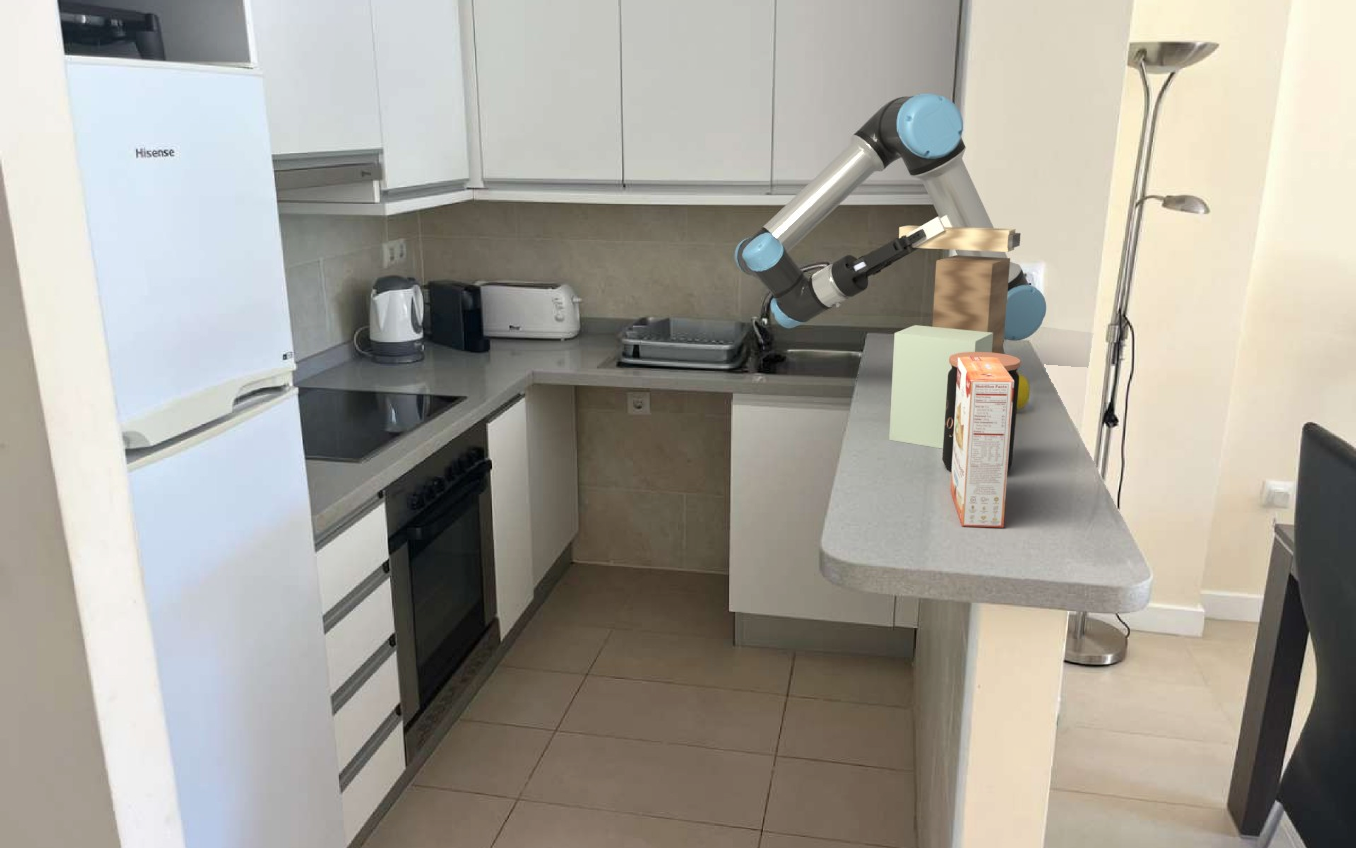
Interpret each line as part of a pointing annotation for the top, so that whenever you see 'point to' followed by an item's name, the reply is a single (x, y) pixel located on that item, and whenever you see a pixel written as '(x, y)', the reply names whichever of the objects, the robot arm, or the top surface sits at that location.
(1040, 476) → the top surface
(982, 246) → the light wooden bar
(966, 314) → the stand
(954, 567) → the top surface
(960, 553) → the top surface
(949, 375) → the coffee jar
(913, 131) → the robot arm
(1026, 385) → the lemon
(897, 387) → the pale green rectangular prism
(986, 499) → the cracker box
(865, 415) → the top surface
